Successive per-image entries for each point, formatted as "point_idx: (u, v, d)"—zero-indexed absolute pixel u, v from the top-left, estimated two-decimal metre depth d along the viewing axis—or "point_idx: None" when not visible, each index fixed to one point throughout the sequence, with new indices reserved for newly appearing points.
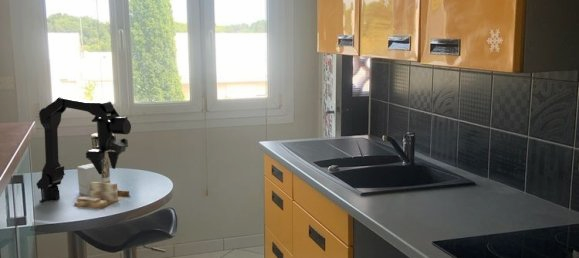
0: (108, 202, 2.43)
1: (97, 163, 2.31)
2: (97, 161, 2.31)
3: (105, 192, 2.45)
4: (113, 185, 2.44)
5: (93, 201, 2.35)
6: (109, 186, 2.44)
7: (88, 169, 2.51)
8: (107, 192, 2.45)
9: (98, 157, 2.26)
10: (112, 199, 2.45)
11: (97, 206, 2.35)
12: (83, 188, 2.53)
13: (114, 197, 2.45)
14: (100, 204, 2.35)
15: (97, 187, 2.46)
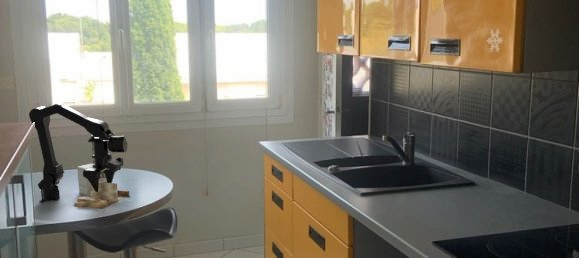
0: (108, 202, 2.43)
1: (93, 181, 2.40)
2: (93, 179, 2.40)
3: (105, 192, 2.45)
4: (113, 185, 2.44)
5: (93, 201, 2.35)
6: (109, 186, 2.44)
7: None
8: (107, 192, 2.45)
9: (94, 176, 2.36)
10: (112, 199, 2.45)
11: (97, 206, 2.35)
12: (83, 188, 2.53)
13: (114, 197, 2.45)
14: (100, 204, 2.35)
15: None
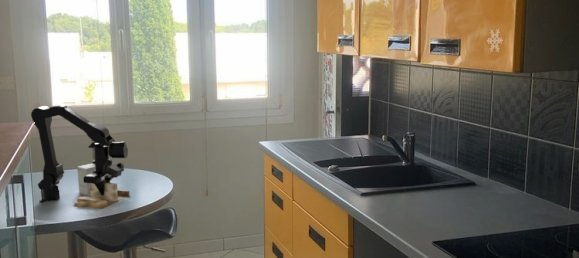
0: (108, 202, 2.43)
1: (99, 185, 2.44)
2: (99, 183, 2.44)
3: (105, 192, 2.45)
4: (113, 185, 2.44)
5: (93, 201, 2.35)
6: (109, 186, 2.44)
7: (88, 169, 2.51)
8: (107, 192, 2.45)
9: (95, 182, 2.36)
10: (112, 199, 2.45)
11: (97, 206, 2.35)
12: (83, 188, 2.53)
13: (114, 197, 2.45)
14: (100, 204, 2.35)
15: None
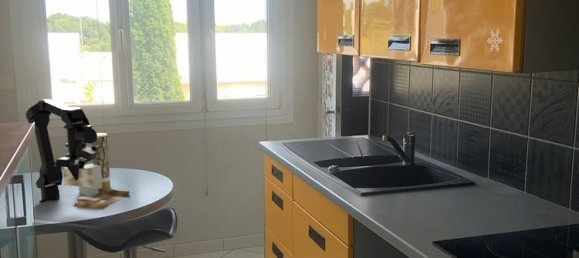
0: (108, 202, 2.43)
1: (73, 169, 2.31)
2: (73, 167, 2.31)
3: (80, 178, 2.32)
4: (88, 171, 2.31)
5: (93, 201, 2.35)
6: (84, 171, 2.31)
7: None
8: (82, 178, 2.32)
9: (68, 165, 2.23)
10: (87, 185, 2.32)
11: (97, 206, 2.35)
12: (83, 188, 2.53)
13: (89, 183, 2.32)
14: (100, 204, 2.35)
15: None
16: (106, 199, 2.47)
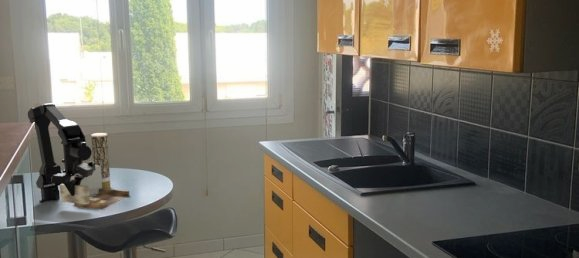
0: (108, 202, 2.43)
1: (69, 185, 2.30)
2: (69, 183, 2.30)
3: (76, 195, 2.32)
4: (84, 188, 2.30)
5: (93, 201, 2.35)
6: (80, 188, 2.31)
7: None
8: (78, 195, 2.31)
9: (63, 182, 2.22)
10: (83, 202, 2.31)
11: (97, 206, 2.35)
12: None
13: (85, 200, 2.31)
14: (100, 204, 2.35)
15: (67, 190, 2.32)
16: (106, 199, 2.47)
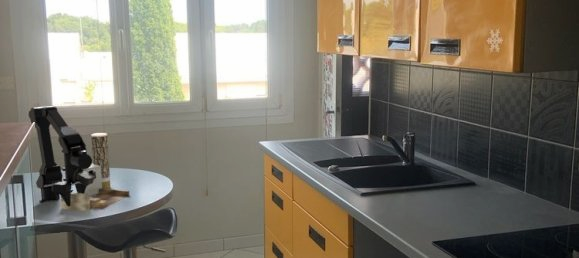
0: (108, 202, 2.43)
1: (65, 195, 2.28)
2: (65, 193, 2.28)
3: (76, 203, 2.32)
4: (85, 196, 2.30)
5: (93, 201, 2.35)
6: (80, 196, 2.31)
7: (88, 169, 2.51)
8: (79, 203, 2.32)
9: (64, 190, 2.23)
10: None
11: (97, 206, 2.35)
12: None
13: (86, 208, 2.31)
14: (100, 204, 2.35)
15: None
16: (106, 199, 2.47)
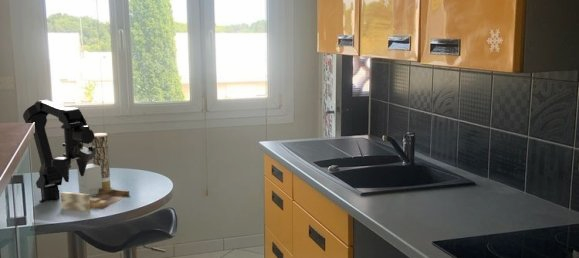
0: (108, 202, 2.43)
1: (63, 171, 2.29)
2: (63, 169, 2.29)
3: (76, 203, 2.32)
4: (85, 196, 2.30)
5: (93, 201, 2.35)
6: (80, 196, 2.31)
7: (88, 169, 2.51)
8: (79, 203, 2.32)
9: (64, 165, 2.24)
10: None
11: (97, 206, 2.35)
12: (83, 188, 2.53)
13: (86, 208, 2.31)
14: (100, 204, 2.35)
15: (68, 198, 2.33)
16: (106, 199, 2.47)
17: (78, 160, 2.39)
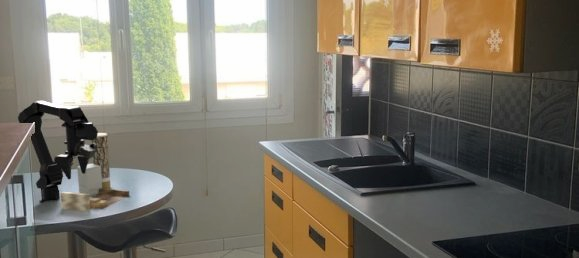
0: (108, 202, 2.43)
1: (66, 168, 2.32)
2: (66, 166, 2.32)
3: (76, 203, 2.32)
4: (85, 196, 2.30)
5: (93, 201, 2.35)
6: (80, 196, 2.31)
7: (88, 169, 2.51)
8: (79, 203, 2.32)
9: (66, 162, 2.27)
10: None
11: (97, 206, 2.35)
12: (83, 188, 2.53)
13: (86, 208, 2.31)
14: (100, 204, 2.35)
15: (68, 198, 2.33)
16: (106, 199, 2.47)
17: (79, 158, 2.42)
